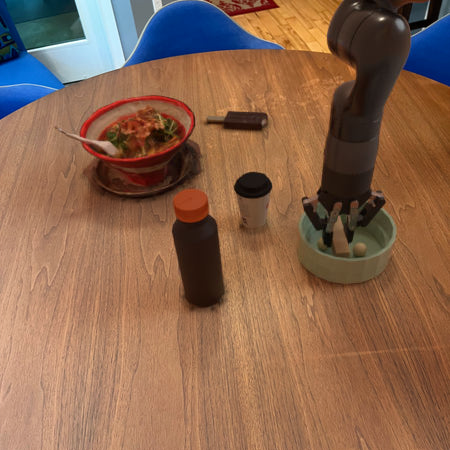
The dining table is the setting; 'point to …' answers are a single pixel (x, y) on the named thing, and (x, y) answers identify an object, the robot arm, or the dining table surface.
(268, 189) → the coffee cup
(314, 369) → the dining table surface
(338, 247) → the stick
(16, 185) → the dining table surface
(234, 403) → the dining table surface
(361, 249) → the chickpea
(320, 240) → the chickpea
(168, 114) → the stew
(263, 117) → the ice cream bar
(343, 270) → the bowl
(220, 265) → the bottle
